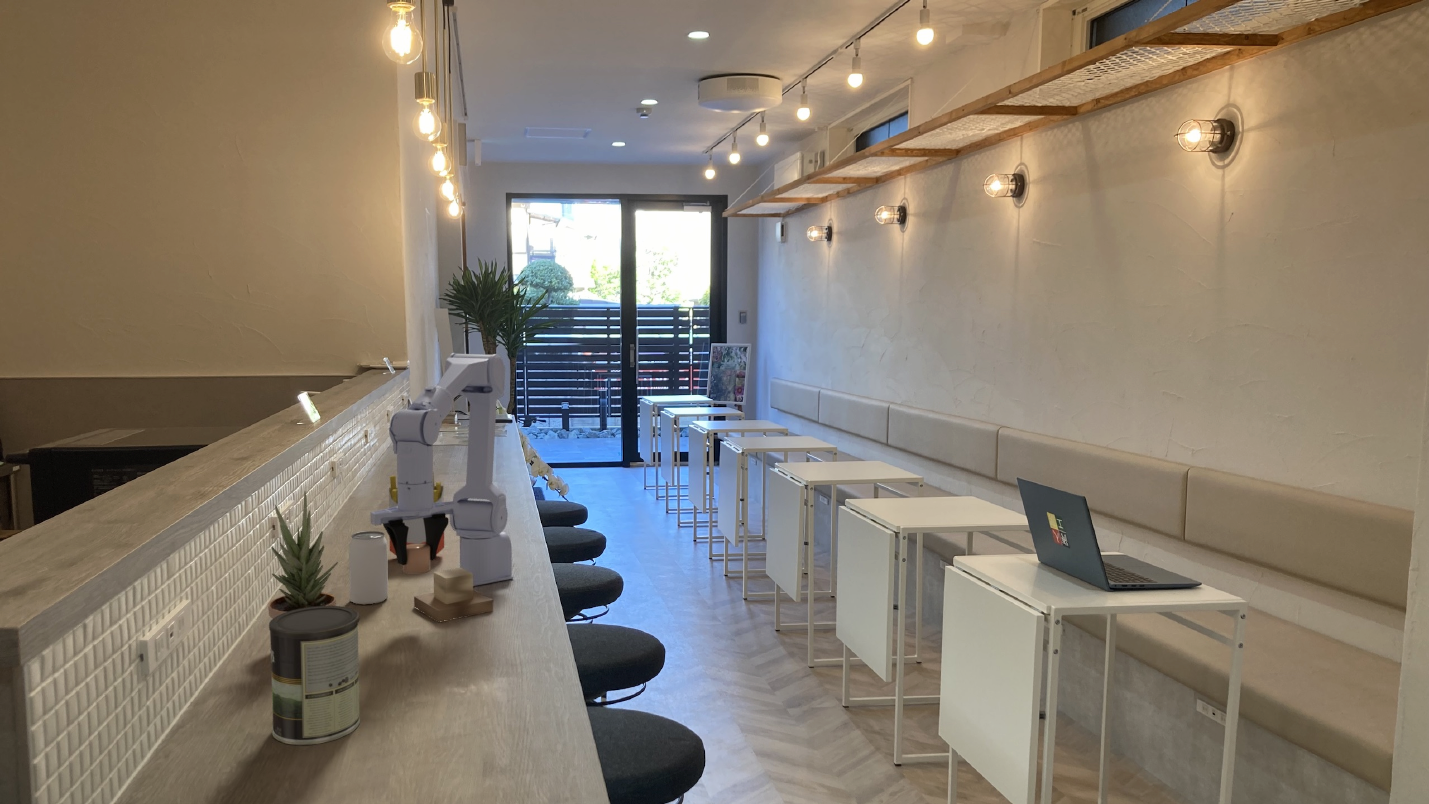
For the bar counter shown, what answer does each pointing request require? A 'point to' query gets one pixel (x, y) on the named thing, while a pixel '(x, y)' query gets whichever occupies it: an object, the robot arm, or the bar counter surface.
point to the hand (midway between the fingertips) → (416, 561)
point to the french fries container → (416, 525)
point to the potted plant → (300, 570)
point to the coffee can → (314, 674)
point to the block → (453, 585)
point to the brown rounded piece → (417, 559)
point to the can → (368, 567)
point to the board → (453, 606)
